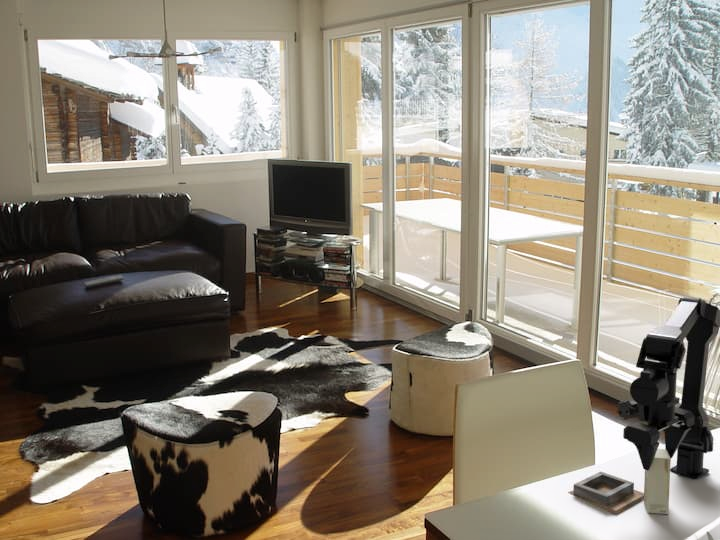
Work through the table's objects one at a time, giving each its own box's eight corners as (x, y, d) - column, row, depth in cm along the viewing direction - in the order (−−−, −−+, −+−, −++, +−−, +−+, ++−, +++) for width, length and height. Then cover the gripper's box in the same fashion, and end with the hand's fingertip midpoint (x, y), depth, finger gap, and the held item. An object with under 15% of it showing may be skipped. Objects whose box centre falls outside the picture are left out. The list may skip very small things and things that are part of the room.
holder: (598, 480, 188) (598, 468, 188) (646, 497, 179) (646, 484, 179) (567, 495, 181) (567, 483, 180) (615, 514, 172) (616, 500, 171)
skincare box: (668, 515, 171) (671, 459, 169) (647, 513, 172) (649, 458, 170) (664, 501, 177) (666, 448, 175) (643, 500, 178) (645, 446, 176)
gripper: (649, 375, 182) (646, 442, 185) (601, 393, 170) (599, 464, 173) (697, 386, 174) (693, 456, 177) (650, 406, 162) (647, 480, 165)
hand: (657, 463), depth 173 cm, fingers open, 9 cm apart
